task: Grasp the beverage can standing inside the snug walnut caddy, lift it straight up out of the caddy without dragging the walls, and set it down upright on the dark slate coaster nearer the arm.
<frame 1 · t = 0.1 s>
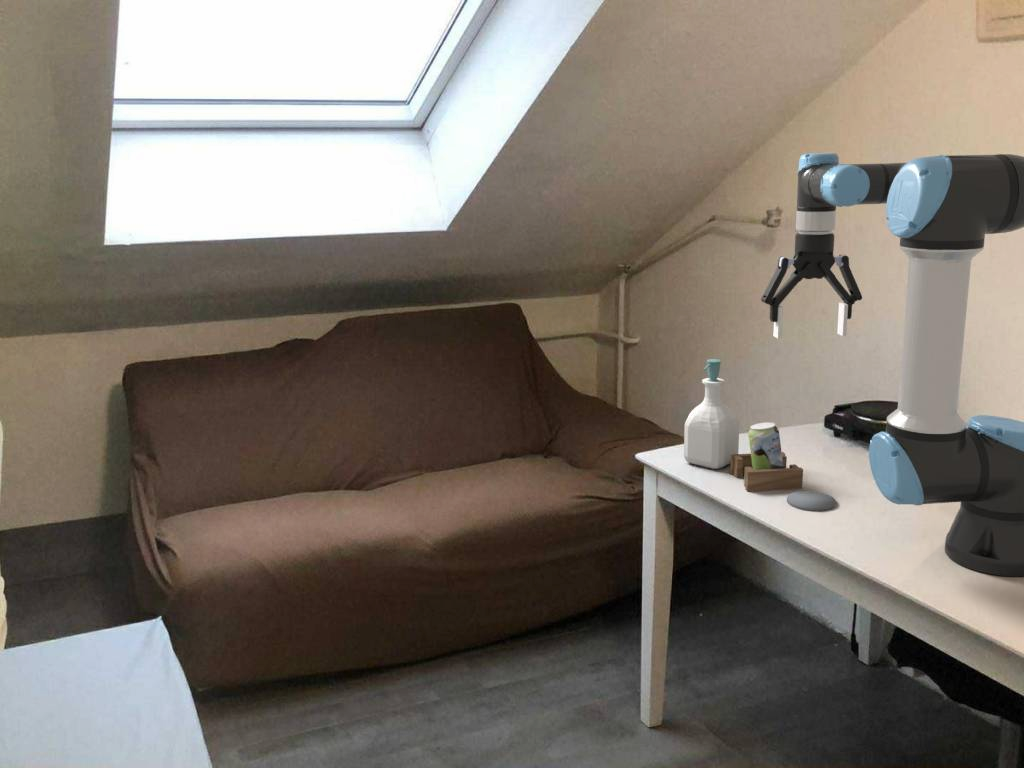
hand: (809, 336, 198), 28 cm above the table, fingers open, 13 cm apart
caddy: (765, 480, 196), on the table
coaster: (811, 502, 184), on the table
beverage can: (765, 481, 196), on the table
soap bottle: (710, 463, 208), on the table
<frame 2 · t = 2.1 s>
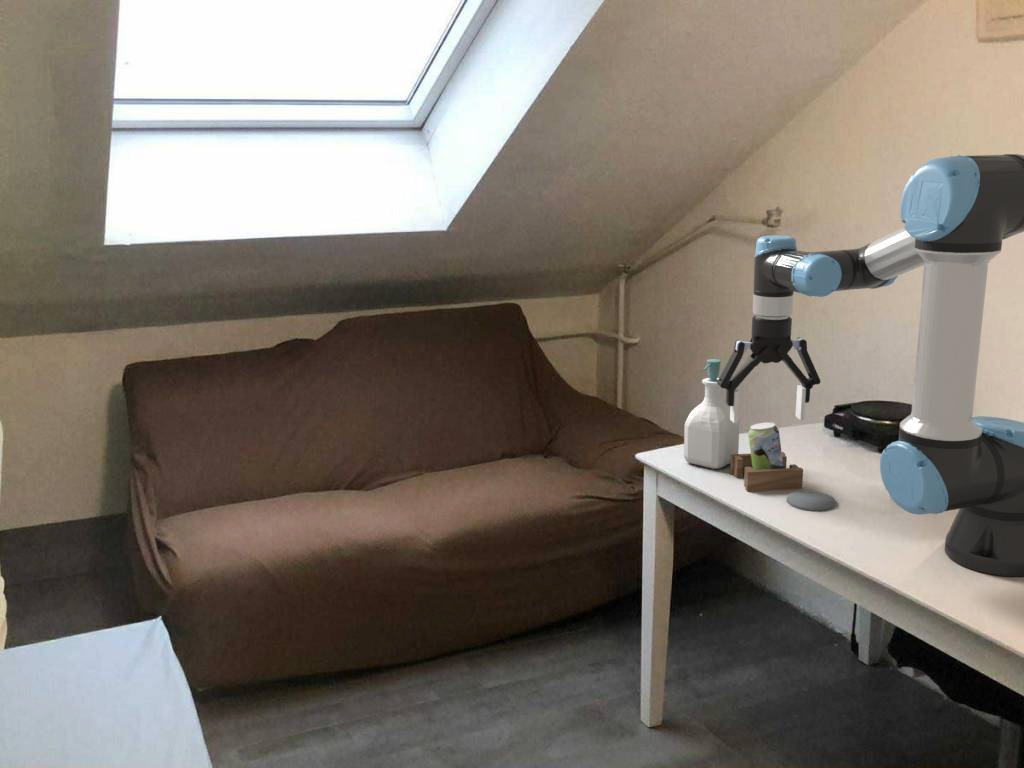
hand: (766, 419, 193), 13 cm above the table, fingers open, 13 cm apart
nothing on the table moved.
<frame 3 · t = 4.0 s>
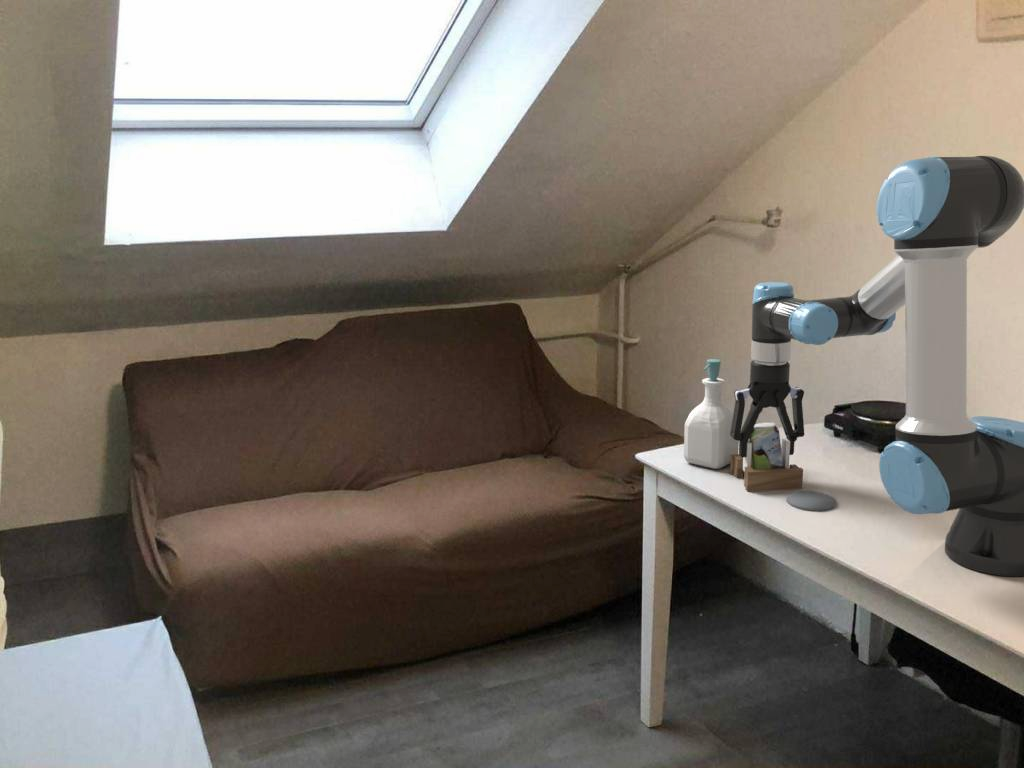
hand: (765, 470, 195), 2 cm above the table, fingers closed on beverage can, 7 cm apart
beverage can: (765, 481, 196), on the table, touching gripper
everything else where it was.
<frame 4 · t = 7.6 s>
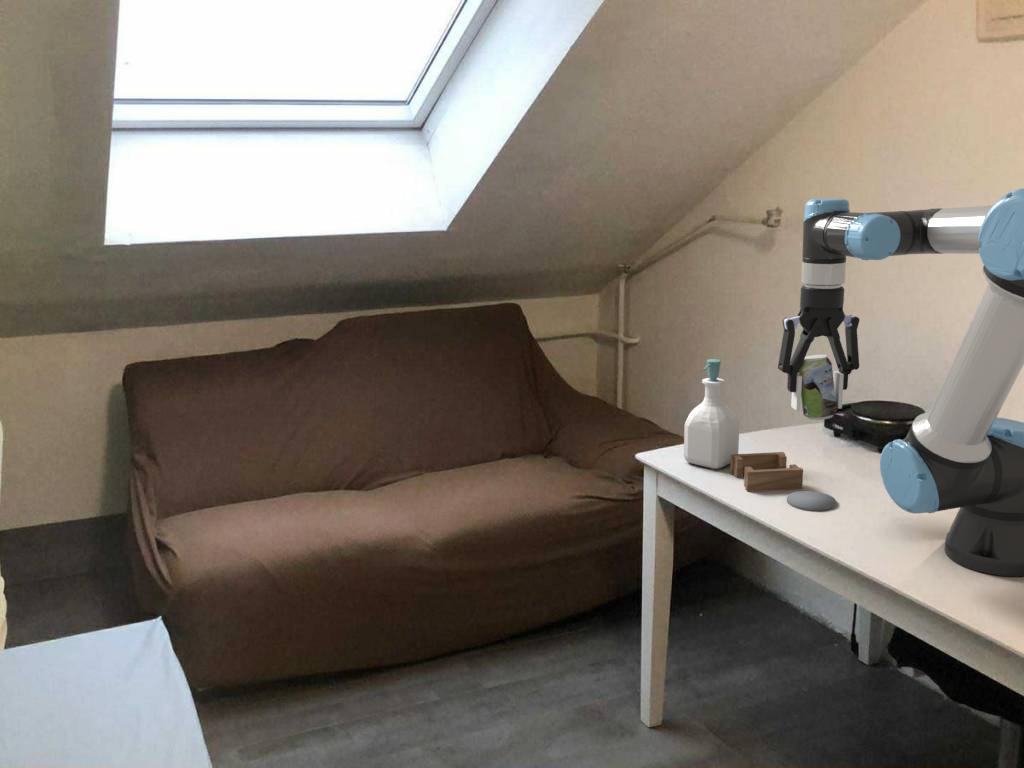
hand: (816, 407, 179), 19 cm above the table, fingers closed on beverage can, 7 cm apart
beverage can: (815, 419, 180), point 17 cm above the table, touching gripper
everything else where it was.
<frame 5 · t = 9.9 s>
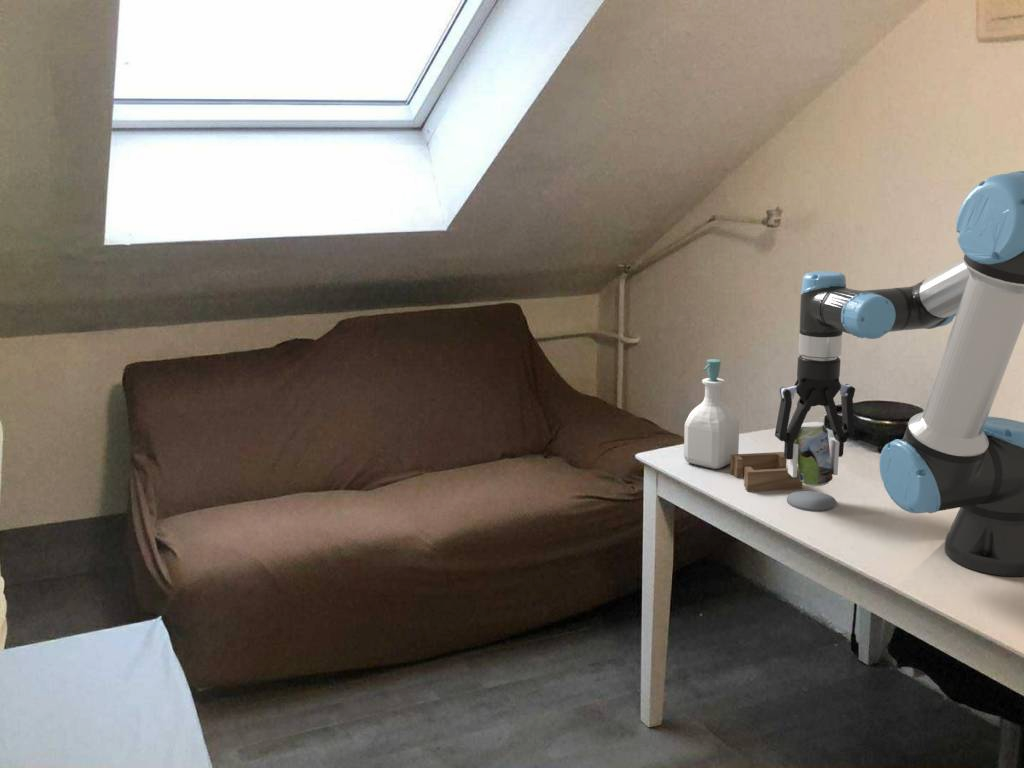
hand: (812, 473, 182), 6 cm above the table, fingers closed on beverage can, 7 cm apart
beverage can: (811, 484, 183), point 3 cm above the table, touching gripper
everything else where it was.
when the fingers open (4 cm above the table, at t = 11.2 s): beverage can drops 1 cm, resting on coaster.
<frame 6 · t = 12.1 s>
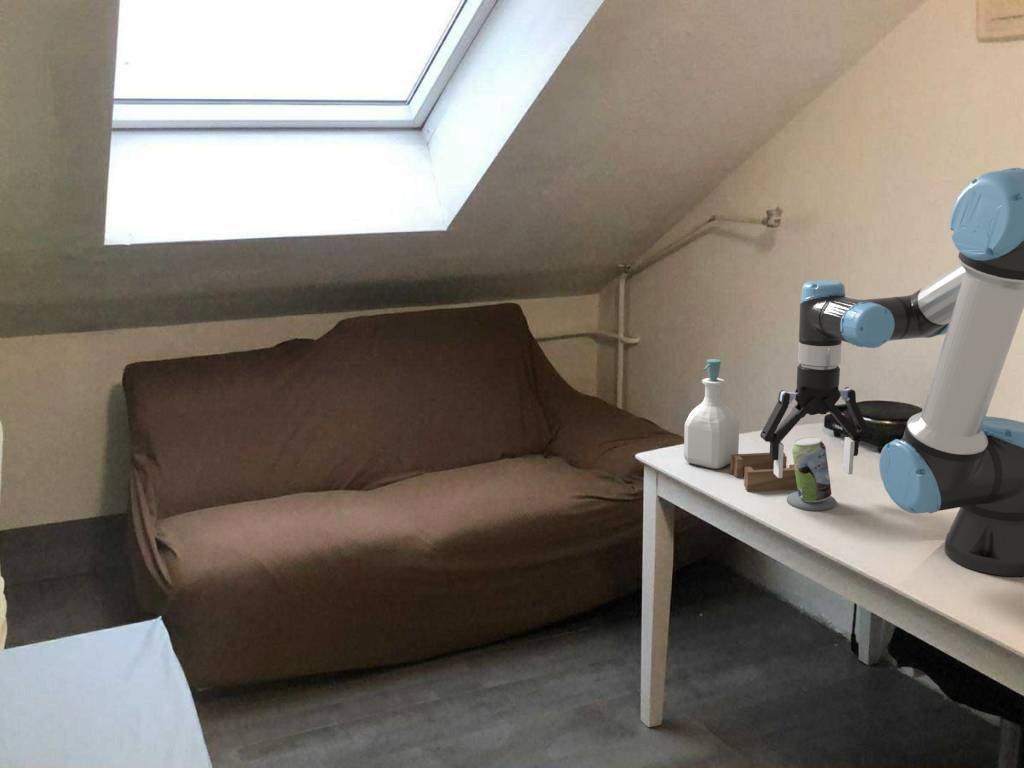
hand: (812, 474, 182), 6 cm above the table, fingers open, 13 cm apart
beverage can: (810, 500, 183), resting on coaster
everything else where it was.
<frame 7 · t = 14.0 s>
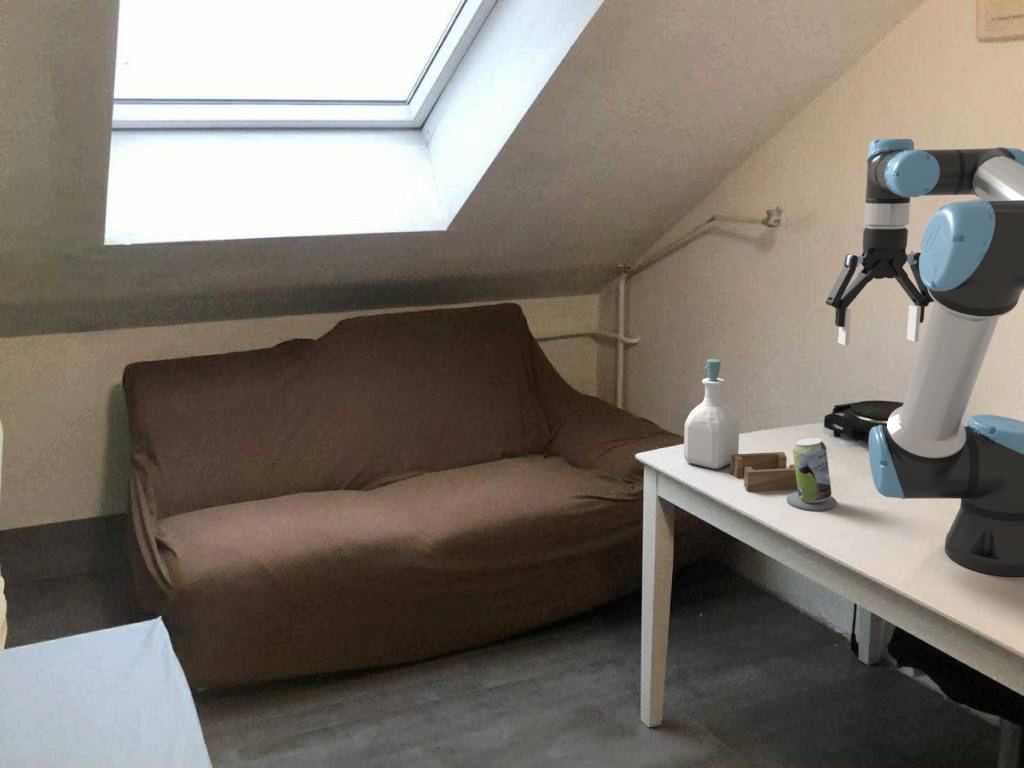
hand: (878, 342, 178), 30 cm above the table, fingers open, 13 cm apart
nothing on the table moved.
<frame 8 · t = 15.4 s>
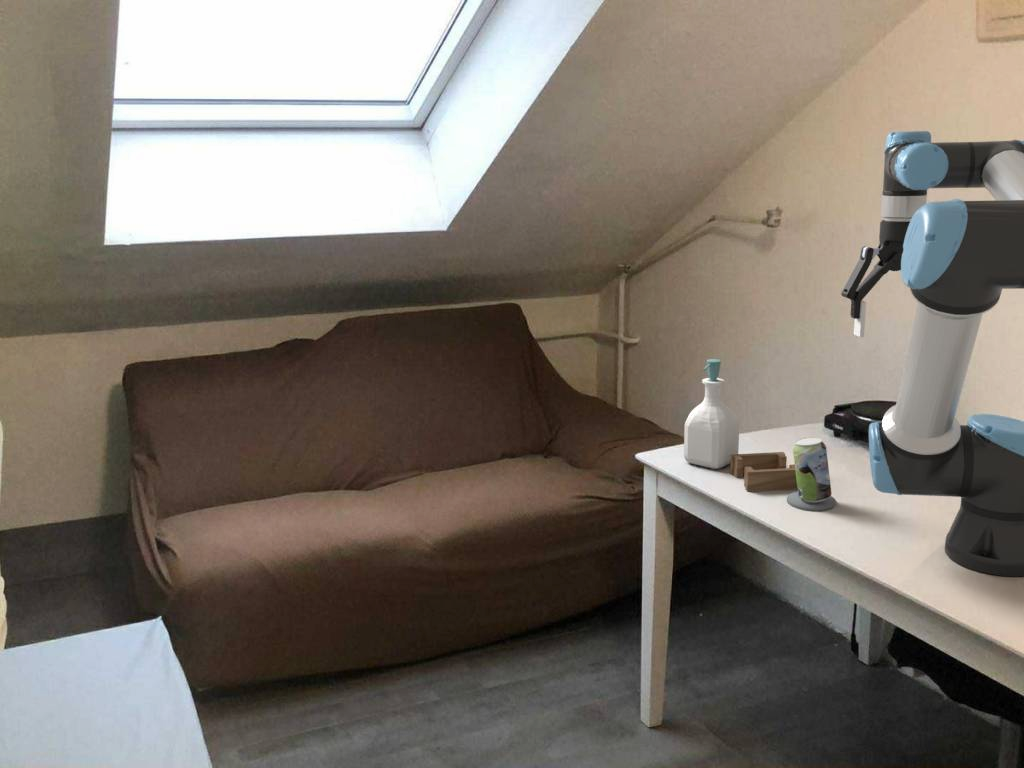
hand: (894, 334, 179), 32 cm above the table, fingers open, 13 cm apart
nothing on the table moved.
at the end: beverage can inside the target area on the coaster (0.3 cm from its centre), point 0.4 cm above the coaster's base; beverage can tilted 0°; beverage can touching coaster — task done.
